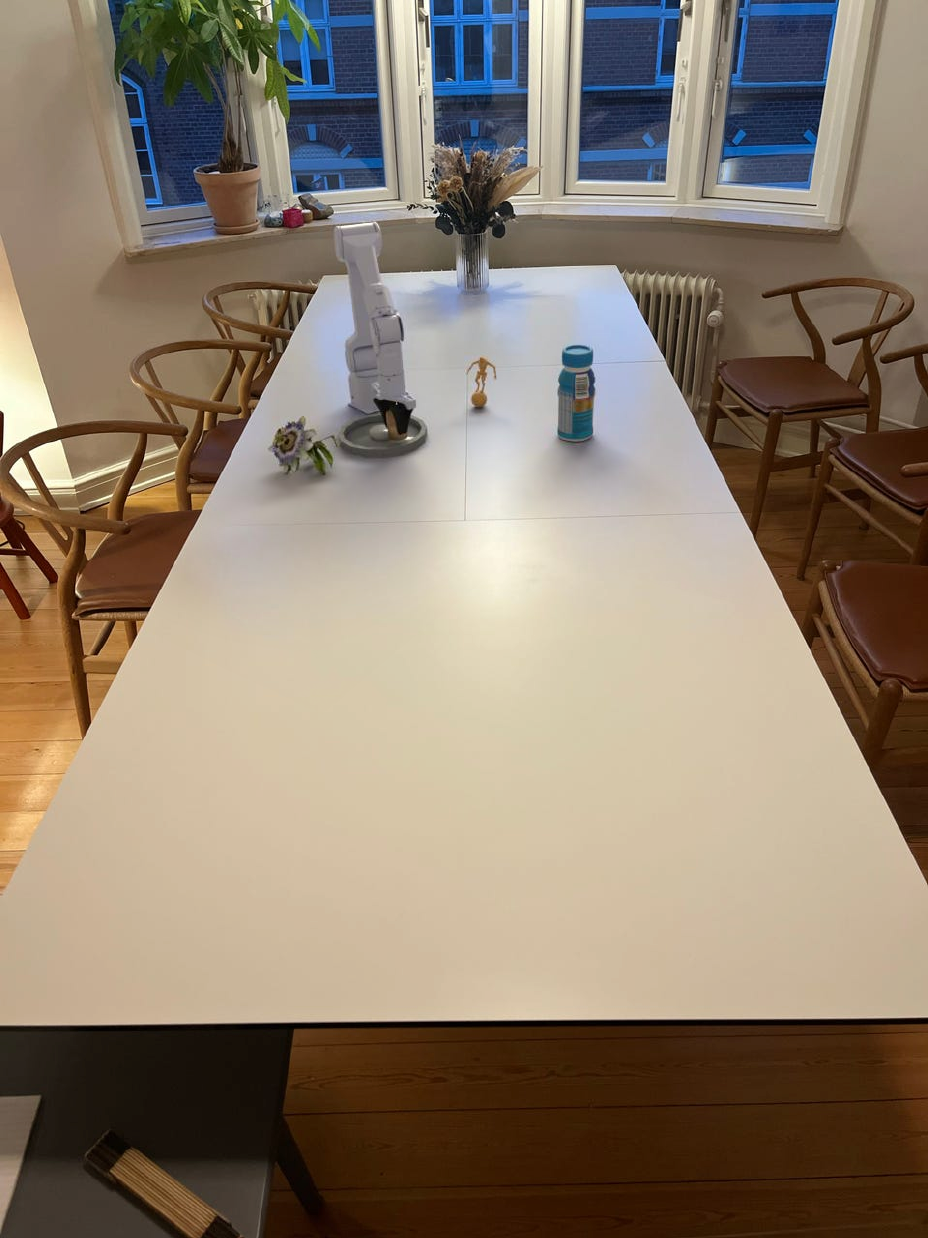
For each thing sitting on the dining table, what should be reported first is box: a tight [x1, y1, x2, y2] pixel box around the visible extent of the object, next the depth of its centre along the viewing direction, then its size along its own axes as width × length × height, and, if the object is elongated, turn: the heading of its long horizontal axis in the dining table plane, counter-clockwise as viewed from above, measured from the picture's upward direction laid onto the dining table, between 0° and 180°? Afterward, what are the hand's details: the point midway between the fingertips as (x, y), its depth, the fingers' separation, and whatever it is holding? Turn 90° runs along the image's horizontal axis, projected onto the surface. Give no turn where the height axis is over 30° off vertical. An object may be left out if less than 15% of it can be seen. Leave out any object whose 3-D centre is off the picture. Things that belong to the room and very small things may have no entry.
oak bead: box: [386, 409, 408, 441], centre depth 198 cm, size 4×4×6 cm
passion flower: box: [268, 415, 340, 475], centre depth 192 cm, size 13×12×14 cm
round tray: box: [337, 412, 429, 459], centre depth 204 cm, size 20×20×2 cm
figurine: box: [466, 356, 497, 408], centre depth 215 cm, size 8×6×12 cm
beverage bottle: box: [556, 344, 596, 443], centre depth 195 cm, size 8×8×20 cm
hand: (396, 430), depth 199 cm, fingers closed on oak bead, 4 cm apart
